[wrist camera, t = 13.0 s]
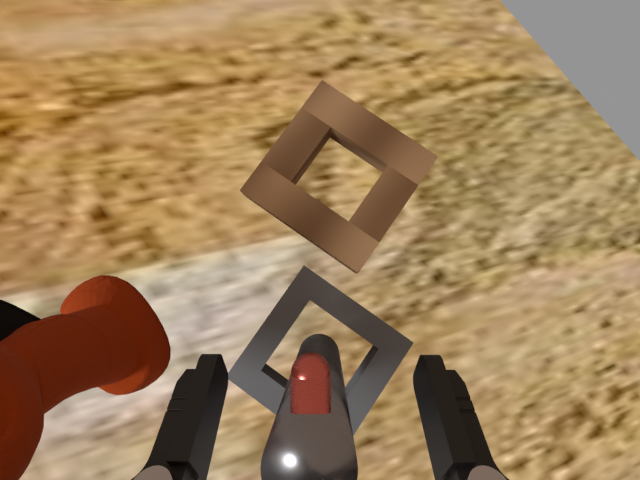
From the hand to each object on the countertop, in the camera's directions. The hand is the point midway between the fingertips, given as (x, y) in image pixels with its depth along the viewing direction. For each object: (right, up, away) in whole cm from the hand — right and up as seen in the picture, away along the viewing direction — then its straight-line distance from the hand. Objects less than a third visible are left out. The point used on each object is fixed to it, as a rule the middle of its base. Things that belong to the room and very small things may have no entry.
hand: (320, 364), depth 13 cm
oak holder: (+1, +9, +9) cm, 13 cm away
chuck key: (0, -2, +7) cm, 8 cm away
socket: (0, -2, +7) cm, 8 cm away
